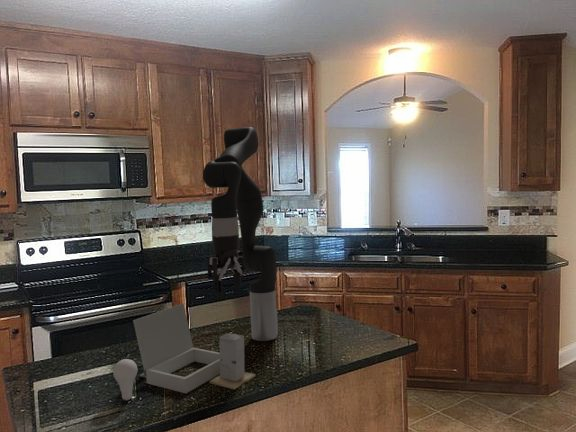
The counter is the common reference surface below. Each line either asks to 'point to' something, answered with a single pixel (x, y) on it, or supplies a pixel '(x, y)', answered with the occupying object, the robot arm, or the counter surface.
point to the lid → (163, 335)
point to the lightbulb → (125, 376)
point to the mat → (230, 383)
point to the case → (161, 371)
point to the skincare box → (232, 357)
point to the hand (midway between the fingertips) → (228, 290)
